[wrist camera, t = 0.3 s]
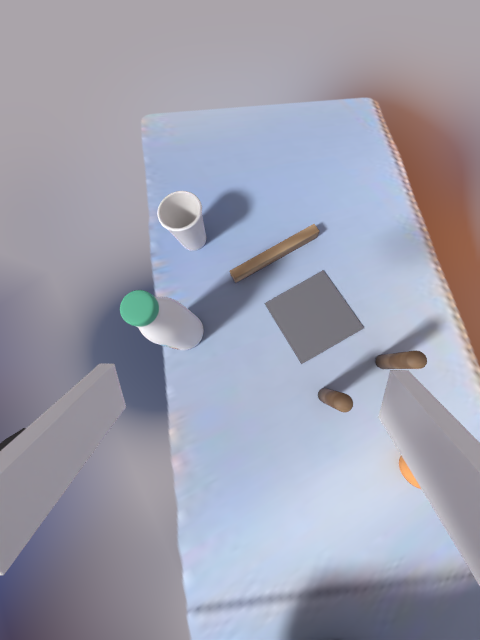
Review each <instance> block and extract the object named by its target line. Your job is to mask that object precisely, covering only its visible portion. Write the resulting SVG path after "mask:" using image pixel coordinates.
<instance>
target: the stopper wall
mask: <svg viewBox="0 0 480 640" xmlns="http://www.w3.org/2000/svg"><path fill="white" fill-rule="evenodd" d="M318 234H319V230H318V228H317V227H316V226H315V224H313V225H311V226H309V227H307V228H306V229H304V230H302V231H300V232H298V233H297V234H295V235H293V236H291V237H289V238H288V239H286V240H284V241H282V242H280V243H279V244H277V245H275V246H273V247H271V248H270V249H268V250H266V251H264V252H263V253H261V254H259V255H257V256H255V257H254V258H252V259H250V260H248V261H246V262H245V263H243V264H241V265H239V266H237V267H236V268H234V269H232V270H230V274H231V276H232V278H233V280H234V281H235V283H237V282H239V281H240V280H242V279H244V278H246V277H248V276H249V275H251V274H253V273H255V272H256V271H258V270H260V269H262V268H264V267H265V266H267V265H269V264H271V263H273V262H274V261H276V260H278V259H280V258H282V257H283V256H285V255H287V254H289V253H290V252H292V251H294V250H296V249H298V248H299V247H301V246H303V245H305V244H307V243H308V242H310V241H312V240H314V239H315V238H317V236H318Z"/></svg>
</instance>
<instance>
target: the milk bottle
mask: <svg viewBox="0 0 480 640" xmlns="http://www.w3.org/2000/svg"><path fill="white" fill-rule="evenodd" d="M120 313H121V316H122V317H123V319H124V320H125V321H126V322H127V323H129V324H131V325H133V326H136V327H139V329H140V331H141V333H142V334H143V335H144V336H145V337H146V338H147V339H148V340H150V341H152V342H154V343H156V344H160V345H163V346H166V347H170V348H174V349H178V350H189V349H192V348H194V347H195V346H197V345H198V344H199V342H200V341H201V339H202V337H203V325H202V322H201V321H200V319H199V318H198V317H197V316H196V315H194V314H193V313H192V312H191V311H190V310H188V309H187V308H186V307H185V306H183V305H182V304H181V303H179V302H178V301H176V300H174V299H171V298H167V297H154V296H153V295H152V294H150V293H148V292H146V291H143V290H136V291H132V292H130V293H129V294H127V295H126V296H125V297H124V299H123V300H122V302H121V305H120Z"/></svg>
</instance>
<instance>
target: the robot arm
mask: <svg viewBox="0 0 480 640" xmlns="http://www.w3.org/2000/svg"><path fill="white" fill-rule="evenodd" d="M125 408H126V406H125V401H124V398H123V395H122V391H121V387H120V384H119V380H118V376H117V372H116V369H115V365H114V364H99V365H98V366H97V367H96V368H94V369H93V370H92V371H91V372H90V373H89V374H87V375H86V376H85V377H84V378H83V379H82V380H81V381H79V382H78V383H77V384H76V385H75V386H74V387H73V388H72V389H70V390H69V391H68V392H67V393H66V394H65V395H64V396H63V397H61V398H60V399H59V400H58V401H57V402H56V403H54V404H53V405H52V406H51V407H50V408H49V409H48V410H47V411H45V412H44V413H43V414H42V415H41V416H40V417H39V418H38V419H36V420H35V421H34V422H33V423H32V424H31V425H30V426H28V427H27V428H23V429H22V430H20V431H19V432H17V433H15V434H13V435H12V436H10V437H9V438H7V439H5V440H4V441H3V442H2V443H1V444H0V575H4V574H5V573H6V571H7V570H8V568H9V567H10V566H11V564H12V563H13V562H14V560H15V559H16V557H17V556H18V555H19V553H20V552H21V551H22V549H23V548H24V546H25V545H26V544H27V542H28V541H29V540H30V538H31V537H32V535H33V534H34V533H35V531H36V530H37V529H38V527H39V526H40V525H41V523H42V522H43V520H44V519H45V517H46V516H47V515H48V513H49V512H50V511H51V509H52V508H53V507H54V505H55V504H56V503H57V501H58V500H59V498H60V497H61V496H62V494H63V493H64V492H65V490H66V489H67V487H68V486H69V485H70V483H71V482H72V480H73V479H74V478H75V476H76V475H77V473H78V472H79V471H80V470H81V468H82V467H83V465H84V464H85V463H86V461H87V460H88V459H89V457H90V456H91V454H92V453H93V452H94V450H95V449H96V447H97V446H98V445H99V444H100V442H101V441H102V439H103V438H104V436H105V435H106V434H107V432H108V431H109V430H110V428H111V427H112V426H113V424H114V423H115V421H116V420H117V419H118V417H119V416H120V415H121V413H122V412H123V410H124V409H125ZM378 417H379V419H380V420H381V422H382V424H383V425H384V427H385V429H386V430H387V432H388V434H389V435H390V437H391V439H392V440H393V442H394V444H395V445H396V447H397V449H398V451H399V452H400V454H401V456H402V457H403V459H404V461H405V462H406V464H407V466H408V467H409V469H410V471H411V472H412V474H413V476H414V477H415V479H416V481H417V482H418V484H419V486H420V487H421V489H422V491H423V492H424V494H425V496H426V497H427V499H428V501H429V502H430V504H431V506H432V507H433V509H434V511H435V512H436V514H437V516H438V517H439V519H440V521H441V522H442V524H443V526H444V527H445V529H446V531H447V532H448V534H449V536H450V537H451V539H452V541H453V542H454V544H455V546H456V547H457V549H458V551H459V552H460V554H461V556H462V557H463V559H464V561H465V562H466V564H467V566H468V567H469V569H470V571H471V572H472V574H473V576H474V577H475V579H476V581H477V582H478V584H479V586H480V443H479V442H478V441H477V440H476V439H475V438H474V437H473V436H472V435H471V434H470V433H469V432H468V431H467V429H466V428H465V427H464V426H463V425H462V424H461V423H460V422H459V421H458V420H457V419H456V418H455V417H454V416H453V415H452V414H451V413H450V412H449V411H448V410H447V409H446V408H445V407H444V406H443V405H442V404H441V403H440V402H439V401H438V400H437V399H436V398H435V397H434V396H433V395H432V394H431V393H430V392H429V391H428V390H427V389H426V388H425V387H424V386H423V385H422V384H421V383H420V382H419V381H418V380H417V379H416V378H415V377H414V376H413V375H412V374H411V373H410V372H409V371H406V370H390V373H389V377H388V381H387V385H386V389H385V393H384V397H383V401H382V405H381V408H380V412H379V416H378Z"/></svg>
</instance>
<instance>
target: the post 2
mask: <svg viewBox="0 0 480 640" xmlns="http://www.w3.org/2000/svg"><path fill="white" fill-rule="evenodd" d="M426 364H427V358H426V356H425V355H424V354H423V353H422V352H420V351H409V352H401V353H393V354H385V355H379V356H378V357H377V358H376V365H377V366H378V367H379V368H381V369H421V368H423V367H425V365H426Z"/></svg>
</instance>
